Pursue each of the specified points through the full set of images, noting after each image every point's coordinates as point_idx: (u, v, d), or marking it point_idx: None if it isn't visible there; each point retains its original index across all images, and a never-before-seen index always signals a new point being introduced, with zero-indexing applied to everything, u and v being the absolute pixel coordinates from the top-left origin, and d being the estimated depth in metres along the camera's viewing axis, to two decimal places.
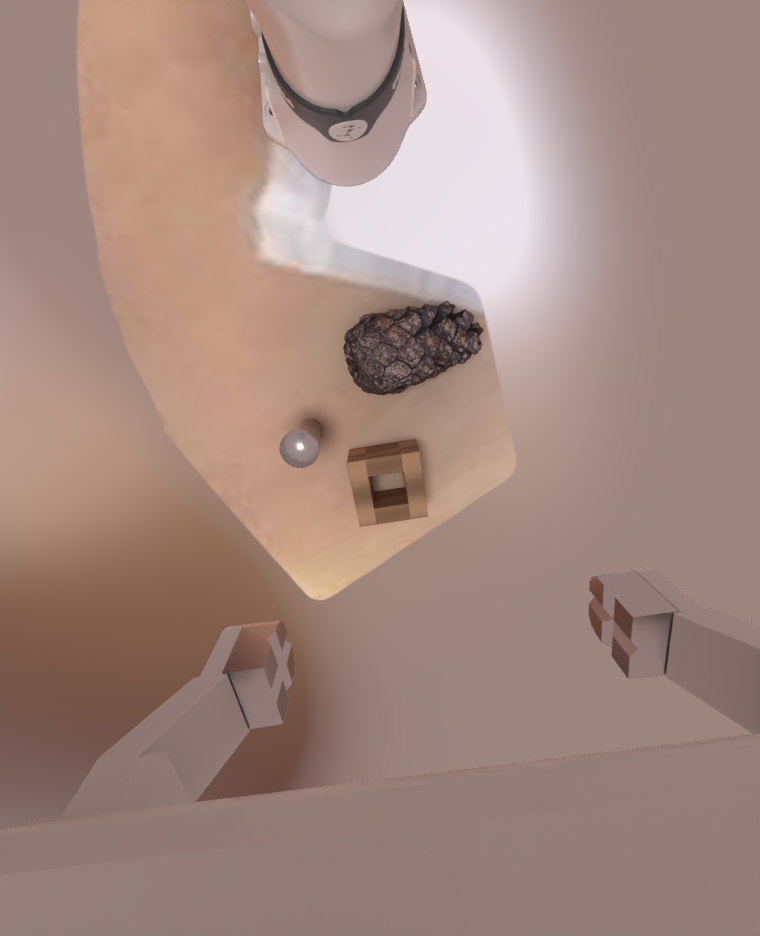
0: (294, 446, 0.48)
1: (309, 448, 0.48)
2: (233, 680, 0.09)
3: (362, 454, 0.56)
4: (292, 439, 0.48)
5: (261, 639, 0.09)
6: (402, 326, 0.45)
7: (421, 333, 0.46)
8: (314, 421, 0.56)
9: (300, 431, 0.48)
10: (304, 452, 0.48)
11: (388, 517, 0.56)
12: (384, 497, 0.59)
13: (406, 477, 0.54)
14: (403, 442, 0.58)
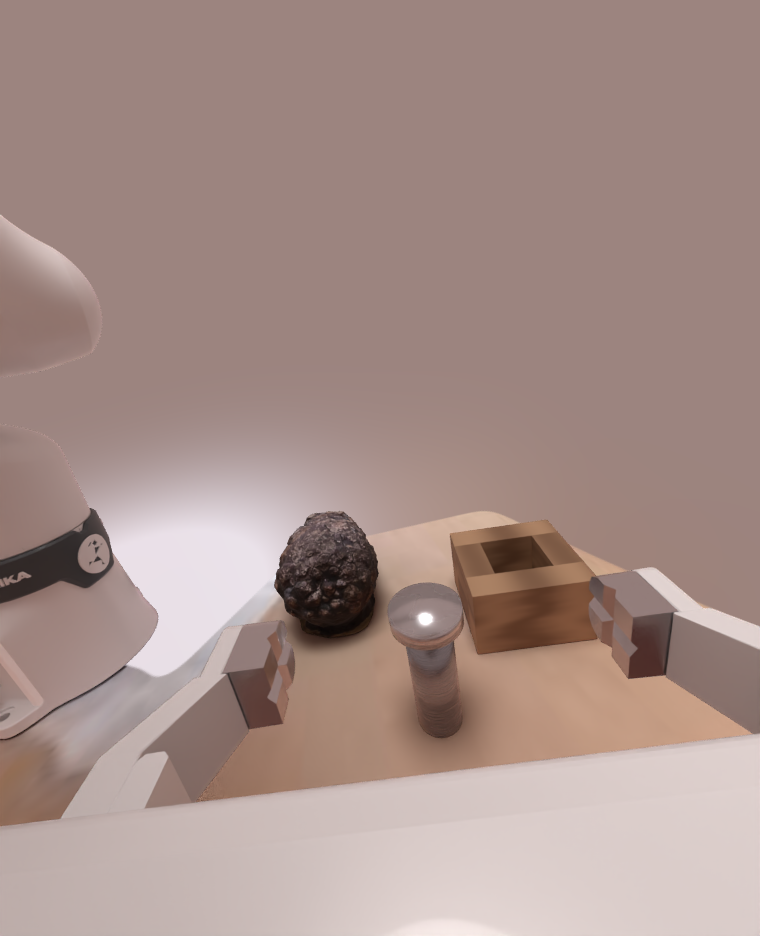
0: (417, 612, 0.25)
1: (422, 593, 0.26)
2: (233, 680, 0.09)
3: (469, 606, 0.34)
4: (403, 614, 0.25)
5: (261, 639, 0.09)
6: (296, 537, 0.41)
7: None
8: None
9: None
10: (430, 599, 0.26)
11: (563, 550, 0.35)
12: None
13: (489, 540, 0.38)
14: (457, 586, 0.41)
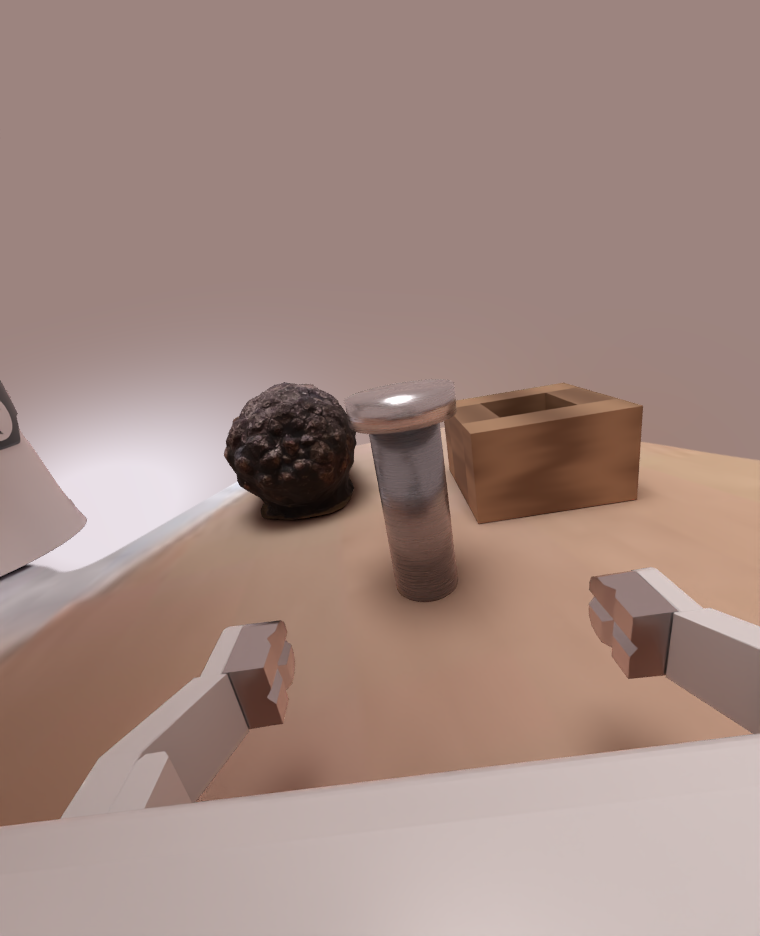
0: (387, 394, 0.17)
1: (397, 386, 0.18)
2: (233, 680, 0.09)
3: (466, 465, 0.26)
4: (366, 398, 0.17)
5: (261, 639, 0.09)
6: None
7: None
8: None
9: None
10: (407, 387, 0.18)
11: (589, 395, 0.27)
12: None
13: (491, 401, 0.30)
14: (452, 469, 0.32)
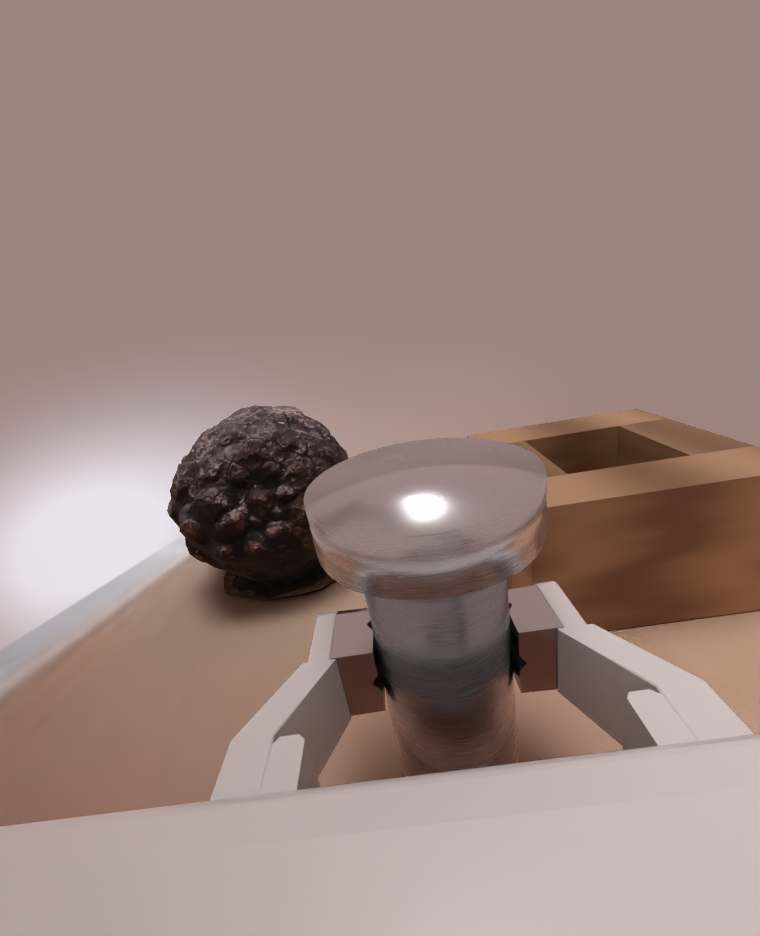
0: (396, 486, 0.08)
1: (415, 453, 0.09)
2: (341, 665, 0.09)
3: None
4: (350, 495, 0.08)
5: (360, 625, 0.09)
6: None
7: None
8: None
9: None
10: (436, 461, 0.09)
11: (697, 436, 0.18)
12: None
13: (540, 437, 0.21)
14: None
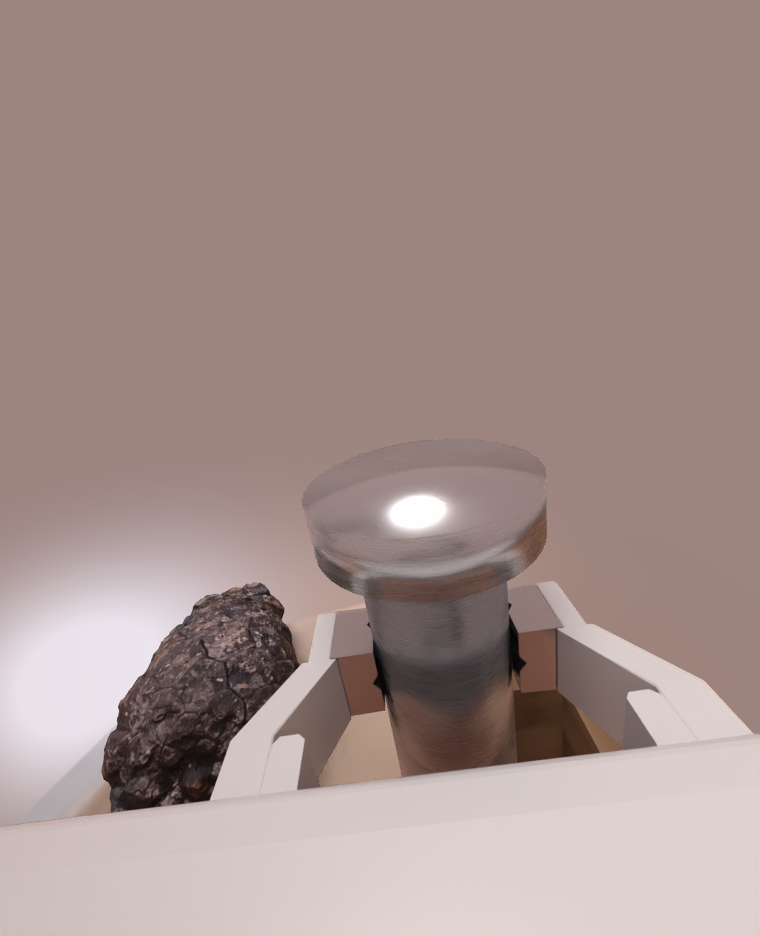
0: (395, 488, 0.08)
1: (414, 454, 0.09)
2: (341, 666, 0.09)
3: None
4: (349, 496, 0.08)
5: (361, 625, 0.09)
6: None
7: None
8: None
9: None
10: (436, 462, 0.09)
11: None
12: None
13: None
14: None
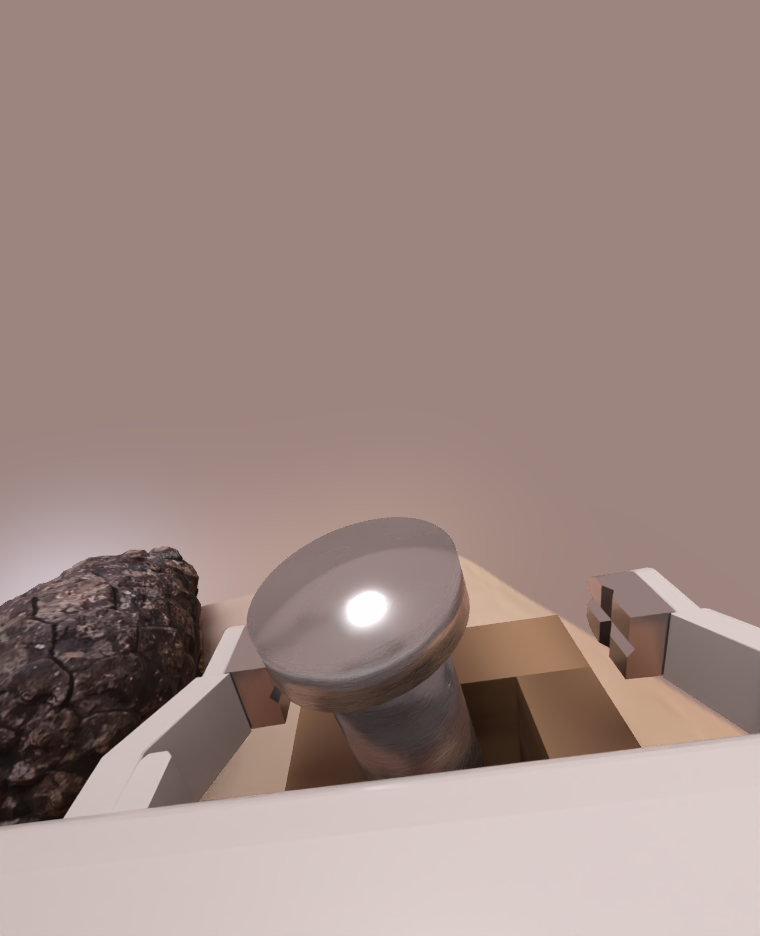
0: (327, 592, 0.08)
1: (356, 542, 0.10)
2: (235, 680, 0.09)
3: None
4: (287, 604, 0.08)
5: None
6: None
7: None
8: None
9: None
10: (371, 553, 0.09)
11: None
12: None
13: None
14: None
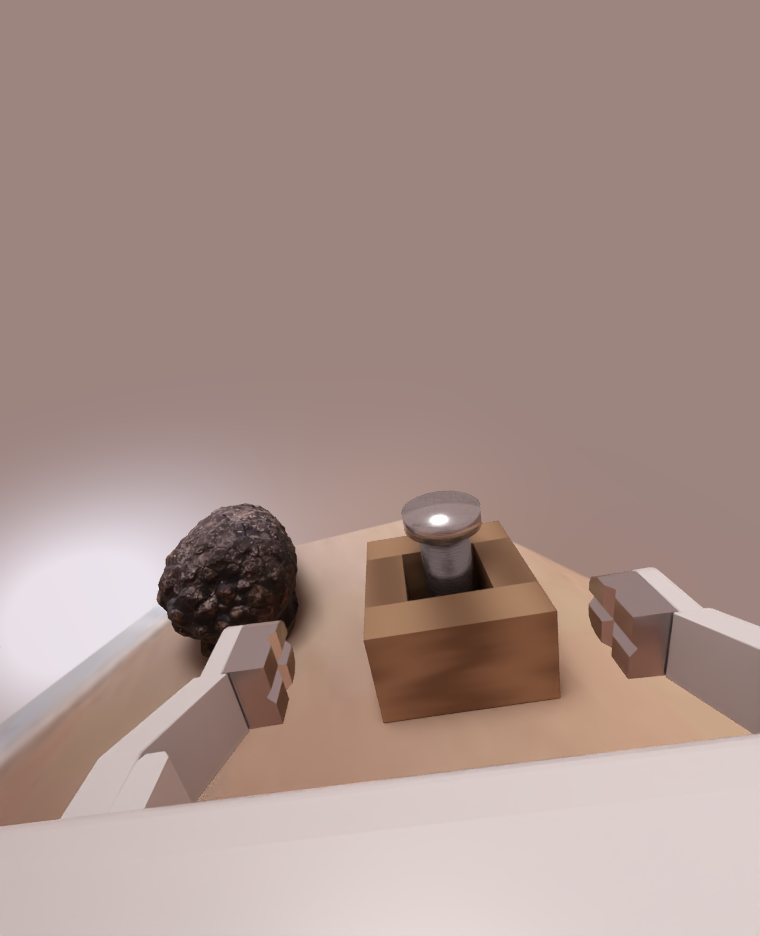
0: (430, 511, 0.24)
1: (443, 497, 0.25)
2: (233, 680, 0.09)
3: None
4: (416, 511, 0.24)
5: (261, 639, 0.09)
6: None
7: None
8: None
9: (407, 505, 0.25)
10: (448, 502, 0.24)
11: (512, 564, 0.24)
12: None
13: (415, 550, 0.27)
14: None
